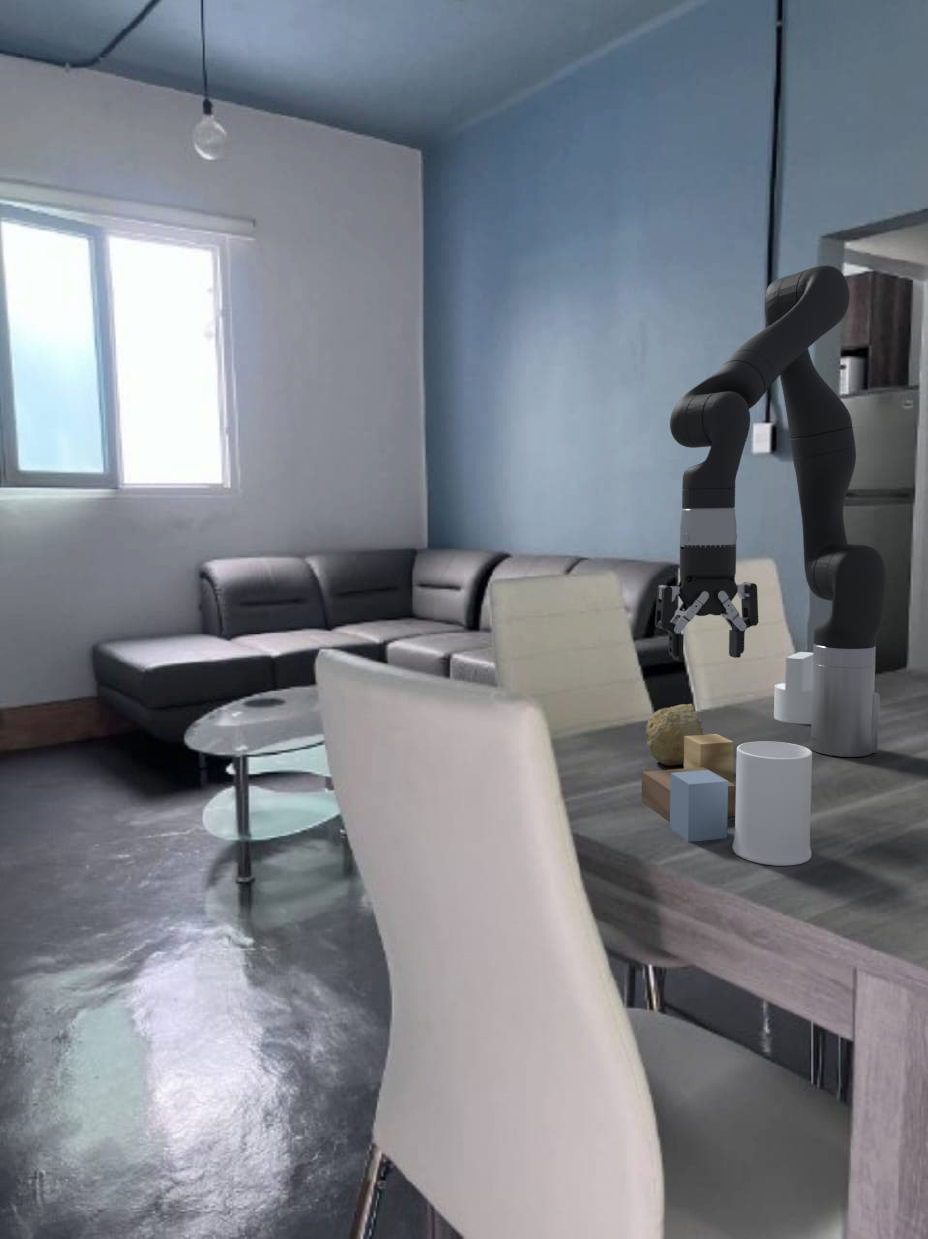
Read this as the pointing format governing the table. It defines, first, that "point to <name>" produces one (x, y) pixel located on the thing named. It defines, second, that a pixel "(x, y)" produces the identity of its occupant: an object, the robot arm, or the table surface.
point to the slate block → (698, 805)
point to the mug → (773, 803)
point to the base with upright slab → (795, 690)
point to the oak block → (710, 754)
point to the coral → (672, 732)
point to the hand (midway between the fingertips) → (706, 658)
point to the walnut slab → (659, 791)
